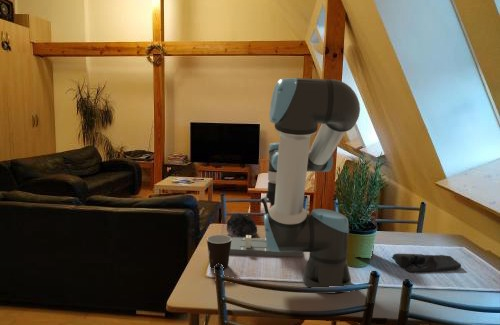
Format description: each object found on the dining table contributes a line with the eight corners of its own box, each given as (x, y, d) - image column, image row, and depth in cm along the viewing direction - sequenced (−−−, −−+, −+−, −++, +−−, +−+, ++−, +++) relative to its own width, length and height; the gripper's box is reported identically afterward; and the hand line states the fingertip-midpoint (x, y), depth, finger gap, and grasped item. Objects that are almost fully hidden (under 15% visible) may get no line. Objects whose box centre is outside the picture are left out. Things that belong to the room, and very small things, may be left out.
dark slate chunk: (467, 274, 122) (469, 261, 121) (406, 274, 121) (407, 261, 120) (442, 257, 137) (443, 245, 136) (387, 256, 136) (388, 245, 135)
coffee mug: (227, 272, 118) (227, 244, 116) (203, 269, 119) (203, 242, 118) (235, 259, 129) (236, 233, 128) (213, 256, 131) (213, 231, 129)
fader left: (250, 248, 134) (250, 237, 134) (245, 247, 134) (245, 237, 134) (251, 245, 137) (251, 234, 137) (246, 244, 137) (246, 234, 137)
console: (302, 257, 132) (302, 252, 132) (228, 254, 133) (228, 249, 133) (298, 244, 145) (299, 239, 145) (232, 241, 147) (232, 236, 146)
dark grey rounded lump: (261, 239, 152) (262, 217, 152) (231, 240, 148) (233, 216, 147) (250, 232, 165) (252, 211, 164) (223, 232, 160) (224, 210, 160)
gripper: (293, 180, 142) (290, 235, 146) (261, 179, 143) (259, 234, 146) (294, 183, 135) (292, 242, 138) (260, 182, 136) (259, 240, 139)
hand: (275, 238), depth 142 cm, fingers closed
